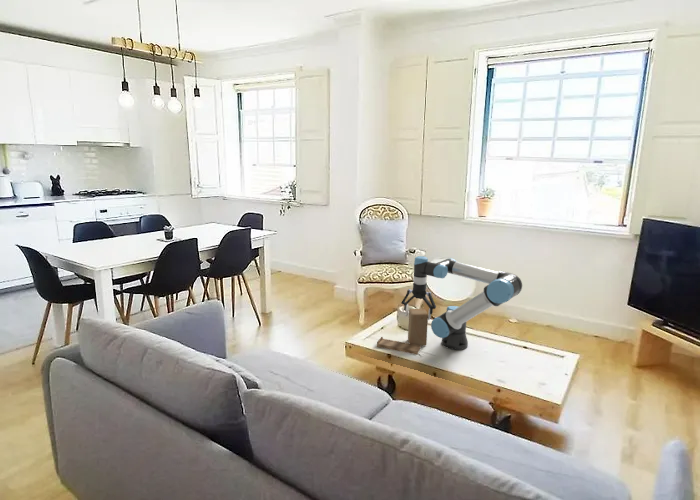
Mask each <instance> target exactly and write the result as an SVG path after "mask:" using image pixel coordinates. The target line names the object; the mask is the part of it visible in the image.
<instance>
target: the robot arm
mask: <svg viewBox="0 0 700 500" xmlns="http://www.w3.org/2000/svg"><path fill="white" fill-rule="evenodd" d="M448 274H451V275H454V276H459V277H462V278H465V279H470V280H473V281H476V282H479V283H480V282H481V283H484V284H487V285H485V286H484V288H483V291H481V292H480V293H478V294H477V295H476V296H474V297H473V298H471V299H469V300H467V301H466V302H464V303H463V304H461V305H460V306H458V305H457V306H456V305H449V306H446V311H445V312H443V313H442V314H440V315H439V316H436V317H434V318H433V320H432V321H431V324H430V325H431V328H430V329H431V331H432V333H433V334H434V336H436V337H437V338H440V339H441V345H442V346H443V347H445V348H446V349H450V350H454V351H461V350H465V349H467V348H468V347H469V346H468V345H469V343H468V342H469V341H468V337H467V333H466V331H467V330H466V329H467V322H468V321H469V320H471V319H473V318H475V317H476V316H478V315H479V314H481V313H483V312H485V311H486V310H488V309H490V308H492V307H499V306H501V305H503V304H504V303H507V302H509V301H510V300H511V299H512V298H514V297H516V296H517V295H519V294H520V293H521V291H522V289H523V282H522V279H521V278H520V277H519V276H518V275H516V274H514V273H513V272H512V273H511V272H508V271H507V272H506V271H502V270H499V271H495V270H491V269H486V268H483V267H478V266H475V265H471V264H466V263H462V262H459V261H457V260H456V259H454V258H451V257H450V258H445V259H443V260H441V261H439V262H431V261H429V259H428V257H426V256H422V255H420V256H415V258H414V263H413V279H412V281H413V283H412V289H411V288H408V289H407V292H406V294H405V296H404V297H403V299H402V301H401V302H400V303H401V304H402V305H404V307H403V308H404V309H403V310H404V311H405V315H404V316H405V317H408V316H409V303H410V302H412V301H413V299H414V298H415V299H420V300H421V299H422V300H423V302H425V304H426V306H427V307H428V312H427V314H428V321H430V320H431V318H432V317H431V316H432V315H433V310H435V309H436V308H437V305H436V303H435V300H434V298H433V295H432V292H431V291H429V292H428V291H427V279H428V278H427V277H428V276H429V277H434V278H437V279H445V278H446V277H447V275H448ZM411 293H412V296H410V297H409V299H408V300H407V298H408V296H409V295H410V294H411ZM426 295H427V296H426ZM427 297H428V298H427ZM428 299H429V300H428Z"/></svg>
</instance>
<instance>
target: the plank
mask: <svg viewBox="0 0 700 500" xmlns="http://www.w3.org/2000/svg"><path fill="white" fill-rule="evenodd" d="M376 347H377V348H381V349H387V350H392V351H397V352H400V353H401V352H402V353H407V354H411V355H412V354H413V355H418V354H419V352H420V350H421V347H422V346H420V345H415V344H409V342H404V341H399V340H392V339H387V338H384V336H380V338H379V339H378V340H377V341H376Z"/></svg>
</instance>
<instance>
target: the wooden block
mask: <svg viewBox="0 0 700 500" xmlns="http://www.w3.org/2000/svg"><path fill="white" fill-rule="evenodd" d="M428 321H429V320H428V312H427V310H426V309H425V308H409V309H408V329H407V330H408V331H407V339H408V343H409V344H415V345H420V346H421V347H426V346H427V344H428V343H427V341H428V340H427V339H428V323H429V322H428Z"/></svg>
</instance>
